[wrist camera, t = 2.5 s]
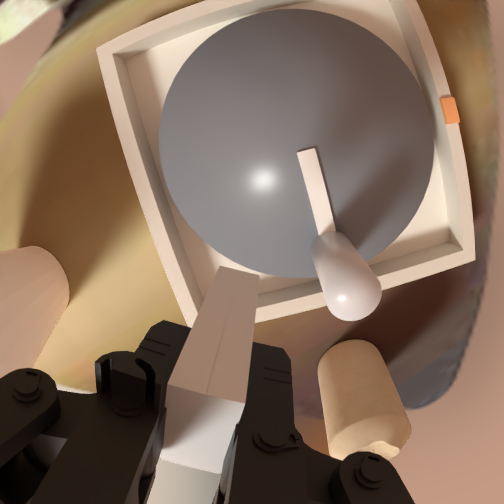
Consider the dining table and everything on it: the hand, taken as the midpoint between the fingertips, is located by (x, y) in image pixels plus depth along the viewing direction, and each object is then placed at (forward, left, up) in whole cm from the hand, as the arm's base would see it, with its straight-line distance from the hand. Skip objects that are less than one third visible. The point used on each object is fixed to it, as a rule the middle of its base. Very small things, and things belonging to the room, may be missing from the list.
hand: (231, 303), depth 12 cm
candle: (+13, +5, -11) cm, 17 cm away
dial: (-5, +5, -9) cm, 11 cm away
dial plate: (-5, +5, -10) cm, 12 cm away
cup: (-1, -19, -11) cm, 22 cm away
